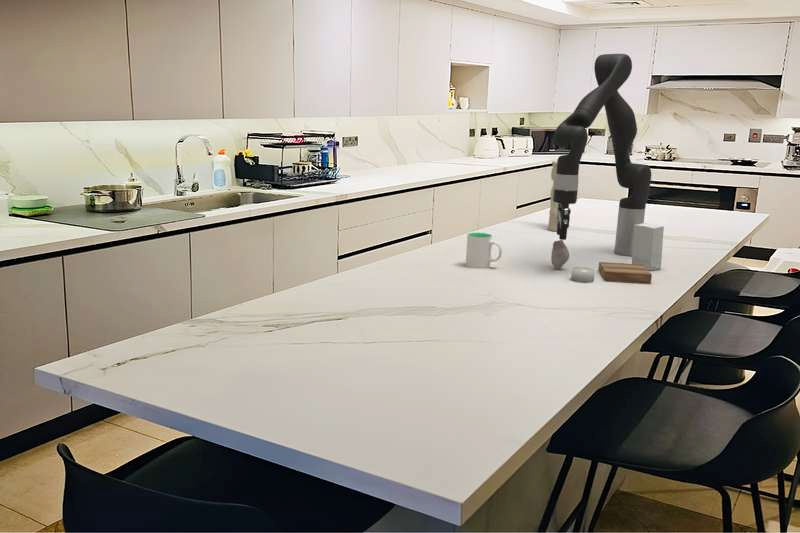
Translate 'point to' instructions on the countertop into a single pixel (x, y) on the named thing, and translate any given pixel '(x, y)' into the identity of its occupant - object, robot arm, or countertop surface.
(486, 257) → the mug
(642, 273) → the walnut block
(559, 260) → the grey rock
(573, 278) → the pale grey round piece
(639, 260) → the skincare box
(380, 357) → the countertop surface
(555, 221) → the beige tall lumpy column
